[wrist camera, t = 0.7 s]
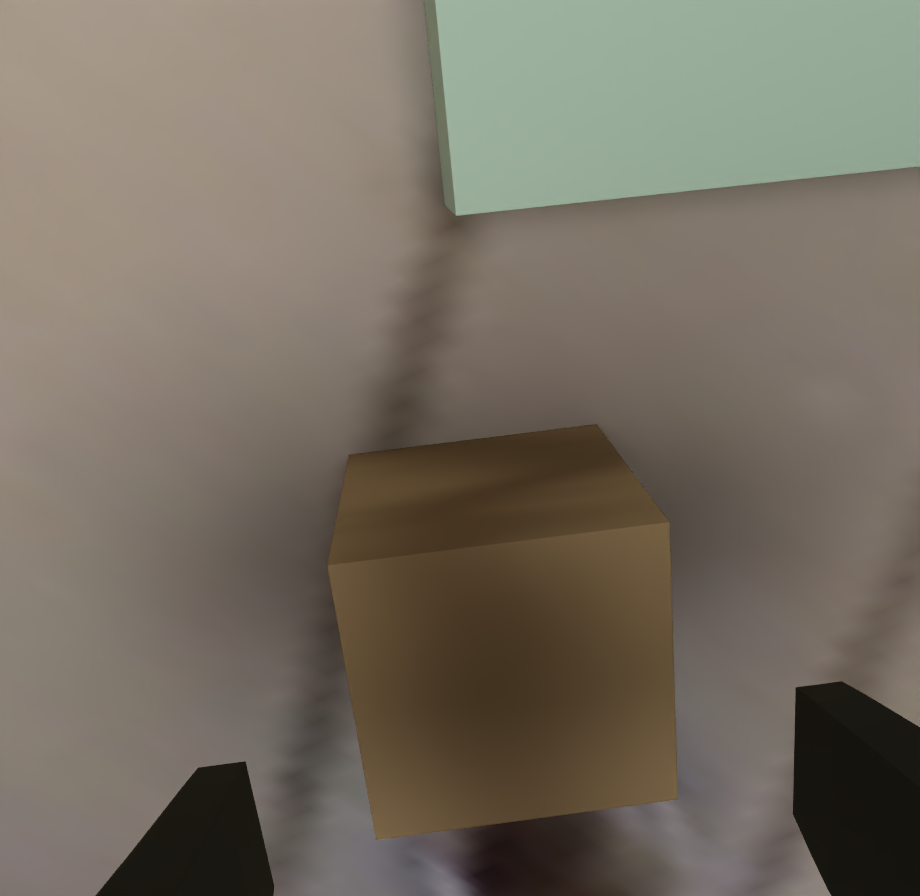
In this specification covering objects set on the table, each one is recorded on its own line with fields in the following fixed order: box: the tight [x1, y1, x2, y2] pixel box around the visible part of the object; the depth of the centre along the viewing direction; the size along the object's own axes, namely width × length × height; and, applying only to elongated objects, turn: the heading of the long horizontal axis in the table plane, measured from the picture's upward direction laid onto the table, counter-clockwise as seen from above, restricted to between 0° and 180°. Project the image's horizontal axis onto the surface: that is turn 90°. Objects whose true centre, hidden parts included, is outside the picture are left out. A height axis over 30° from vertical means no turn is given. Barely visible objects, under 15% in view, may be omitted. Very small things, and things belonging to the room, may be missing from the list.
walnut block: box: [327, 424, 678, 840], centre depth 15 cm, size 5×5×5 cm
